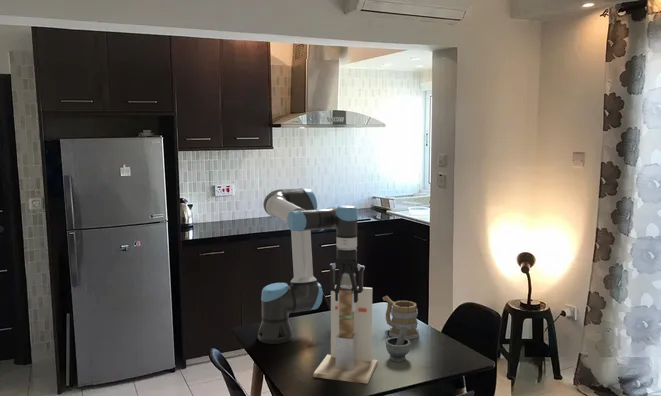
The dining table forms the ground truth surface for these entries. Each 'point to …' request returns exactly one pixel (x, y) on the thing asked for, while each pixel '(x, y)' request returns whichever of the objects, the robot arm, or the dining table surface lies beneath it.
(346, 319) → the oak post
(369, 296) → the board
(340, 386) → the dining table surface
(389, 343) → the mortar and pestle
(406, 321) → the tankard
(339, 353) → the metal sleeve
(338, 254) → the robot arm
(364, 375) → the birch base plate
